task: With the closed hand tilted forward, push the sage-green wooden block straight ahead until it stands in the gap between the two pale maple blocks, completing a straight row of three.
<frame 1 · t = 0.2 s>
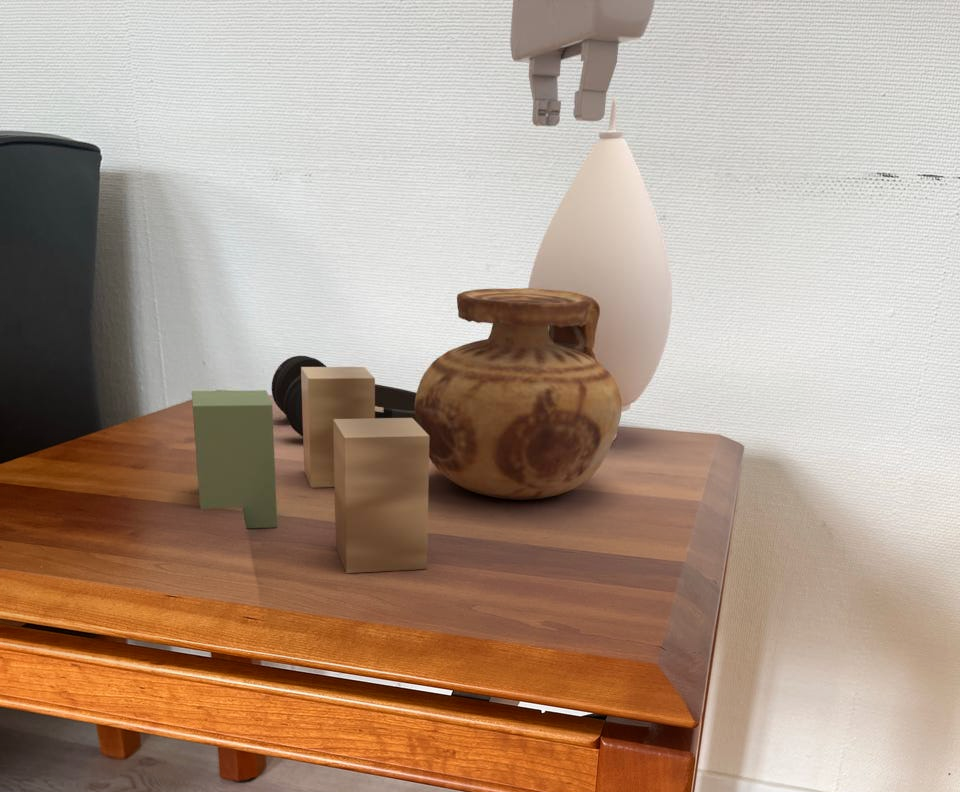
hand: (565, 123, 75), 31 cm above the table, tool pointing down, fingers open, 8 cm apart
clay pot: (513, 489, 98), on the table
lamp: (587, 438, 119), on the table
maple block near: (380, 557, 78), on the table
green block: (238, 518, 85), on the table
maple block far: (339, 478, 98), on the table
headphones: (366, 430, 118), on the table
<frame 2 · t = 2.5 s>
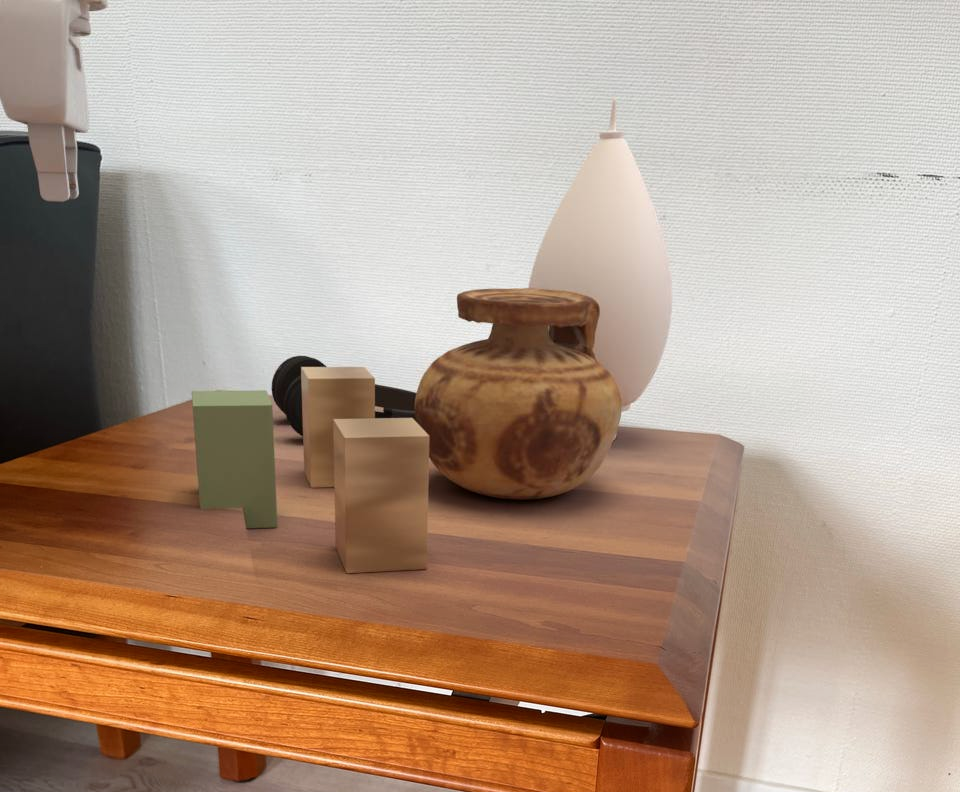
hand: (61, 200, 73), 24 cm above the table, tool pointing down, fingers open, 5 cm apart
nothing on the table moved.
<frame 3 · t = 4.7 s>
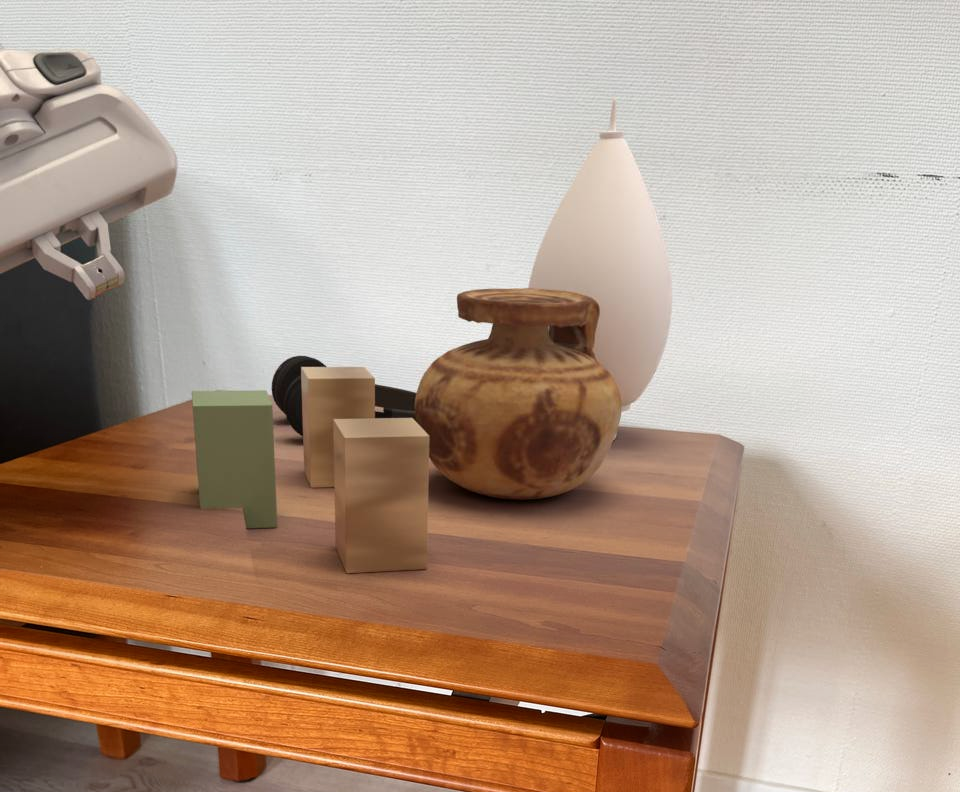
hand: (107, 287, 72), 19 cm above the table, tool tilted 40°, fingers closed
nothing on the table moved.
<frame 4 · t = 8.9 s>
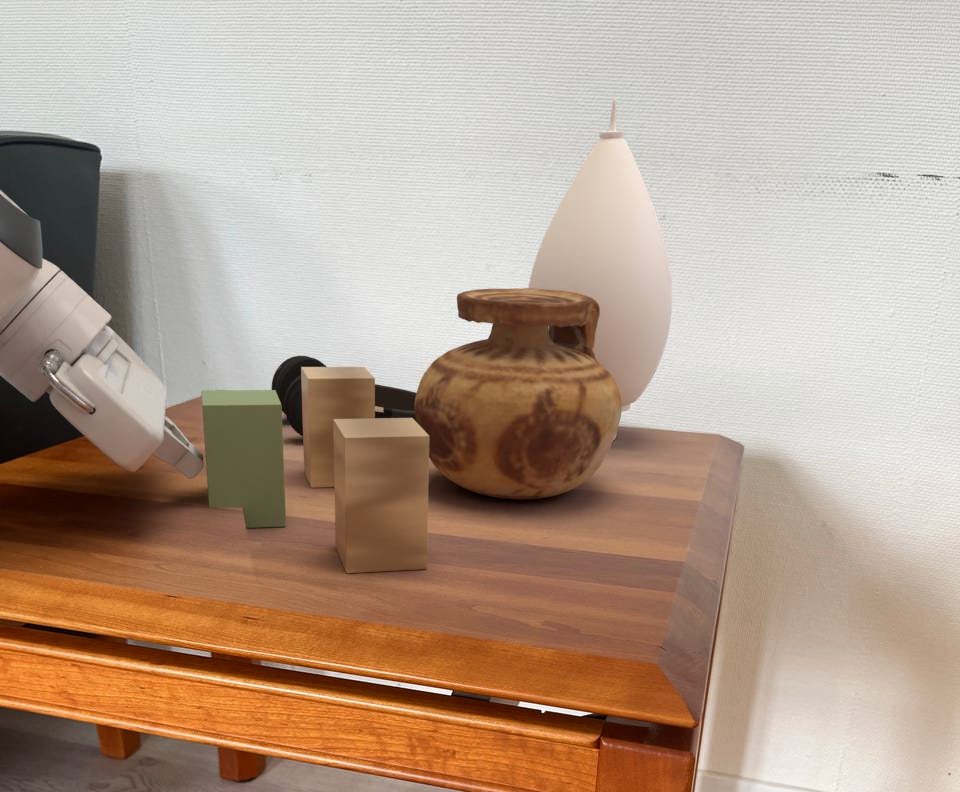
hand: (198, 468, 83), 4 cm above the table, tool tilted 45°, fingers closed, pressing on green block
green block: (246, 517, 86), on the table, touching gripper
everything else where it was.
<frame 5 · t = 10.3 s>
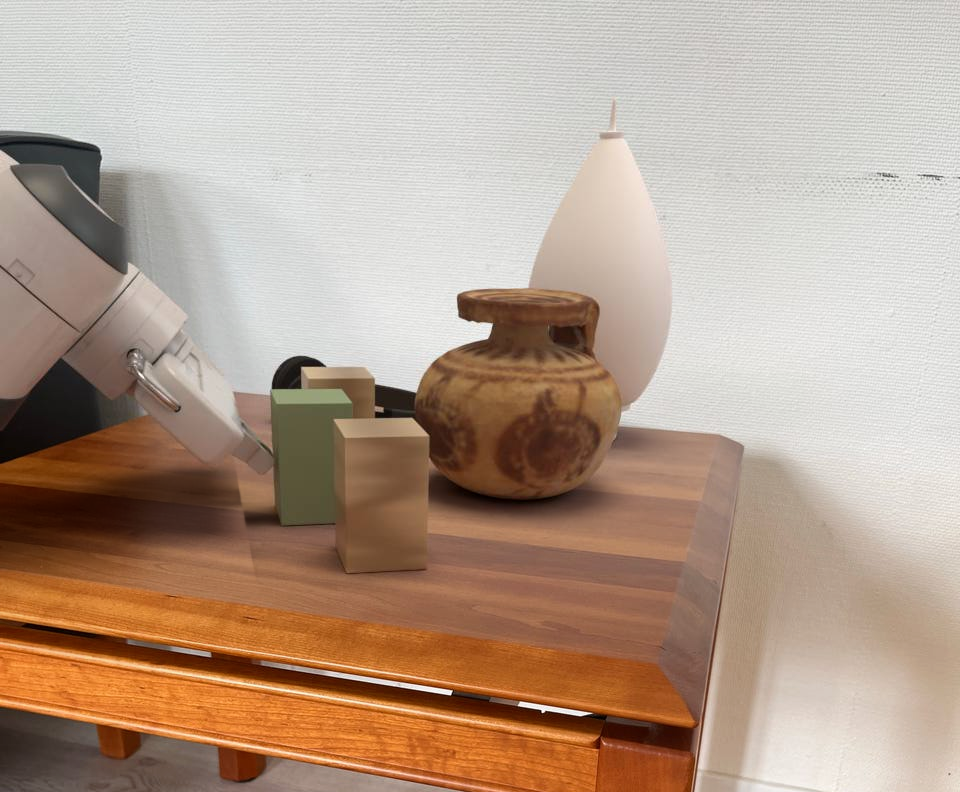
hand: (268, 465, 84), 4 cm above the table, tool tilted 45°, fingers closed, pressing on green block
green block: (313, 513, 87), on the table, touching gripper
everything else where it was.
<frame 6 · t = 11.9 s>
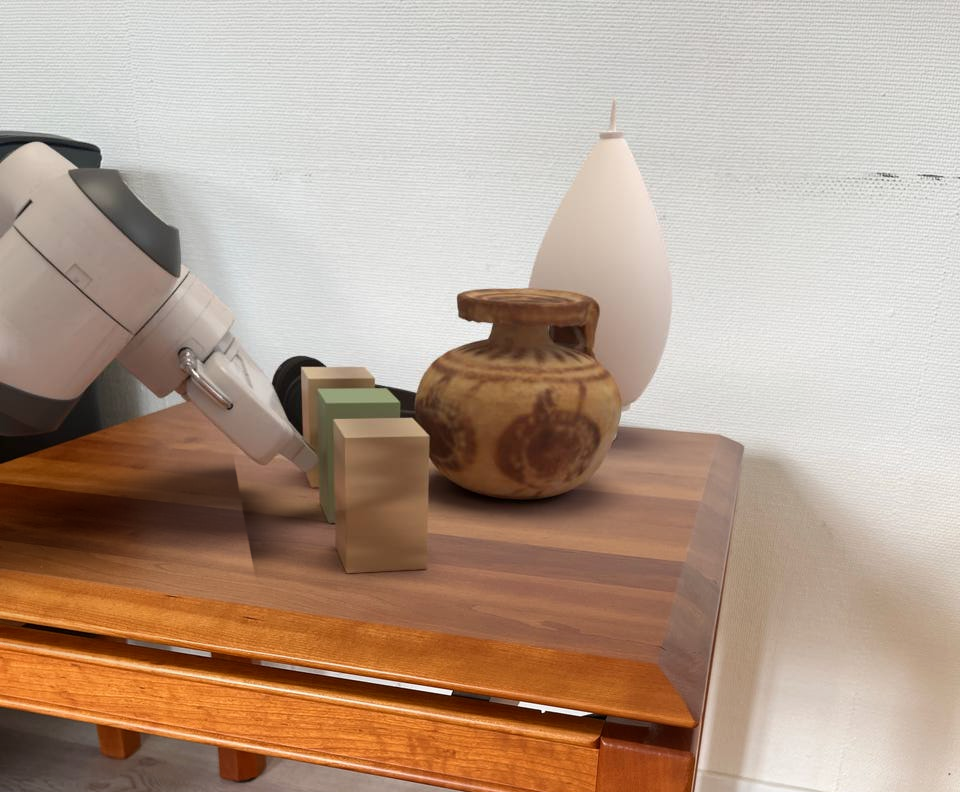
hand: (311, 462, 85), 5 cm above the table, tool tilted 45°, fingers closed
green block: (358, 511, 88), on the table
everything else where it was.
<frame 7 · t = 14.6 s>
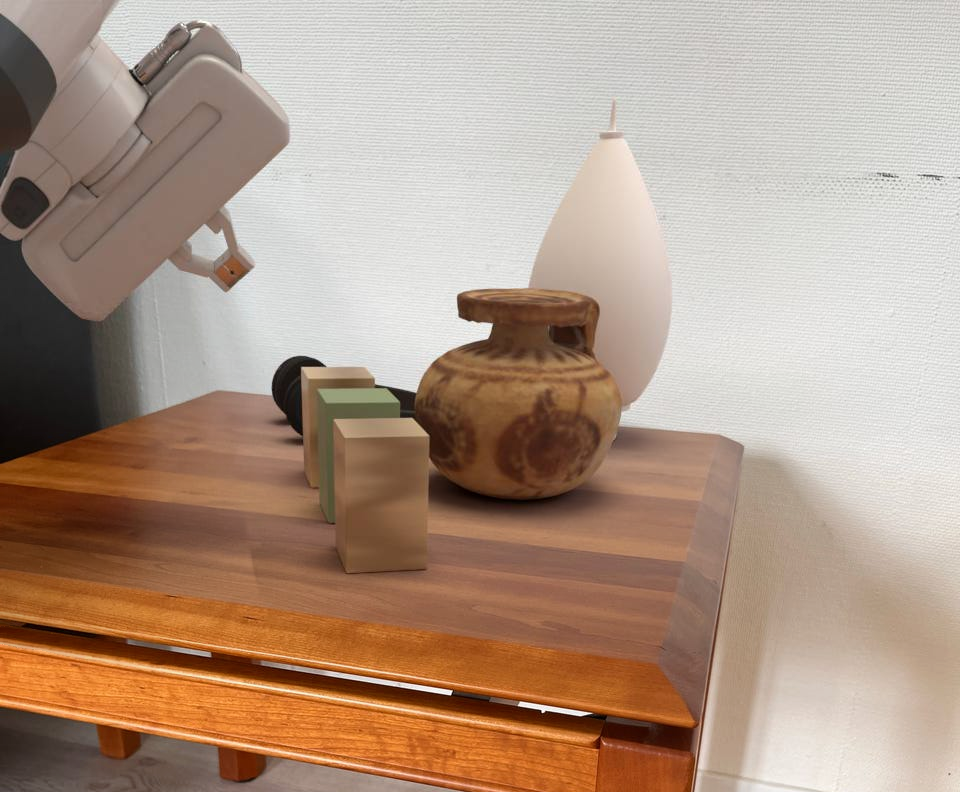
hand: (240, 276, 75), 19 cm above the table, tool tilted 45°, fingers closed
nothing on the table moved.
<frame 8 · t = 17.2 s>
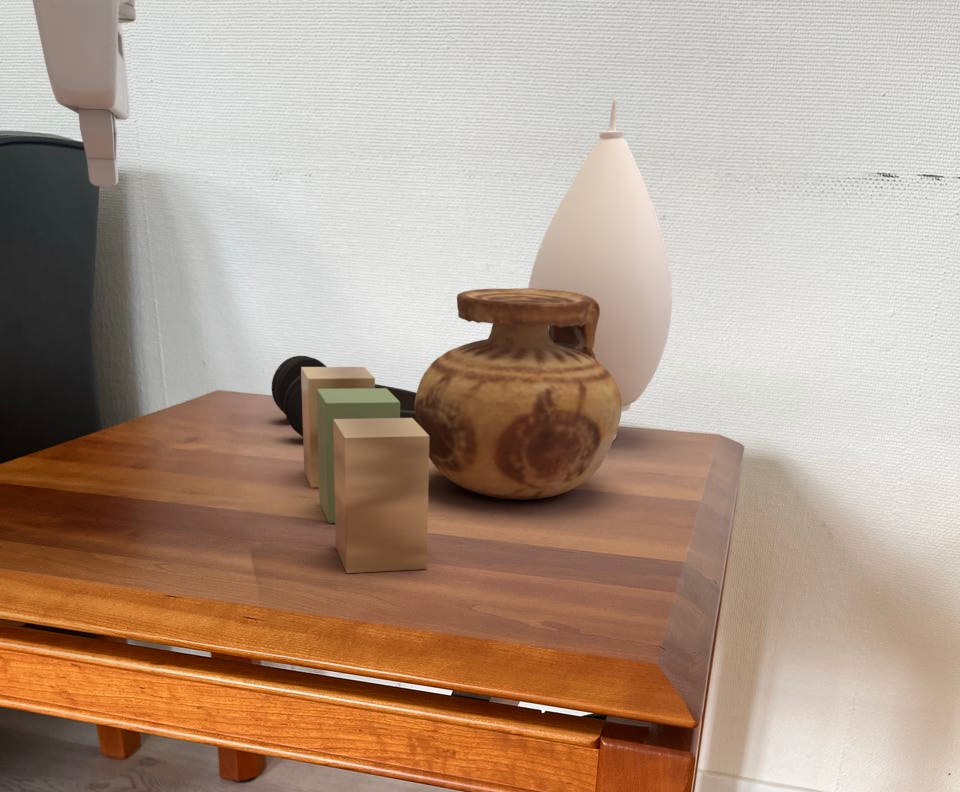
hand: (104, 186, 73), 25 cm above the table, tool pointing down, fingers closed
nothing on the table moved.
at the end: green block 0.5 cm from the target spot on the table beside the maple block near, on the table; green block tilted 0°; maple block far moved 0.0 cm from its start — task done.
